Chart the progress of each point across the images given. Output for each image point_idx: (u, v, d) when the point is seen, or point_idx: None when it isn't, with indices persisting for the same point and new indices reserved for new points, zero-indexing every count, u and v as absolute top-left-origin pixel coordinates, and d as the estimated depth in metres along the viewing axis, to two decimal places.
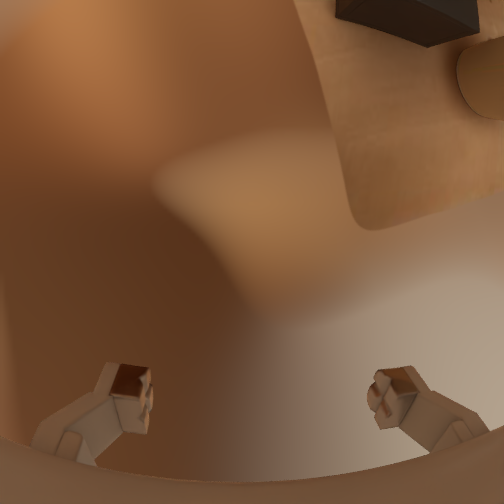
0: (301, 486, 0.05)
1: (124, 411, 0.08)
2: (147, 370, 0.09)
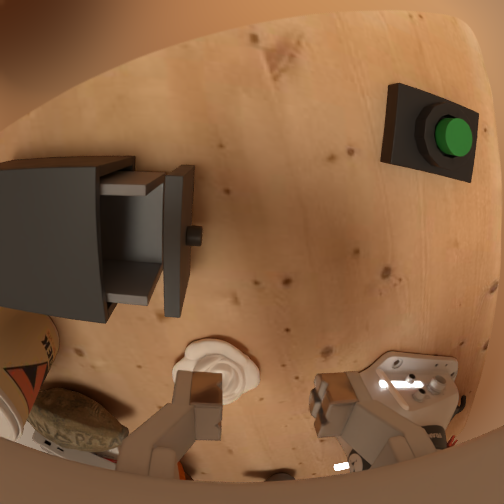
0: (302, 486, 0.05)
1: (202, 419, 0.08)
2: None
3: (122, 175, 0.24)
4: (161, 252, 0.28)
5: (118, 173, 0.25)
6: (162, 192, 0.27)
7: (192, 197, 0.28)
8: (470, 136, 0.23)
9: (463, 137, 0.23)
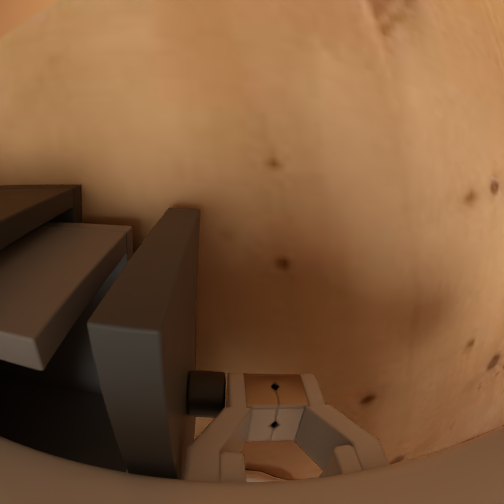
0: (301, 486, 0.05)
1: (257, 421, 0.09)
2: (272, 377, 0.10)
3: (23, 246, 0.08)
4: None
5: None
6: None
7: (196, 283, 0.12)
8: None
9: None
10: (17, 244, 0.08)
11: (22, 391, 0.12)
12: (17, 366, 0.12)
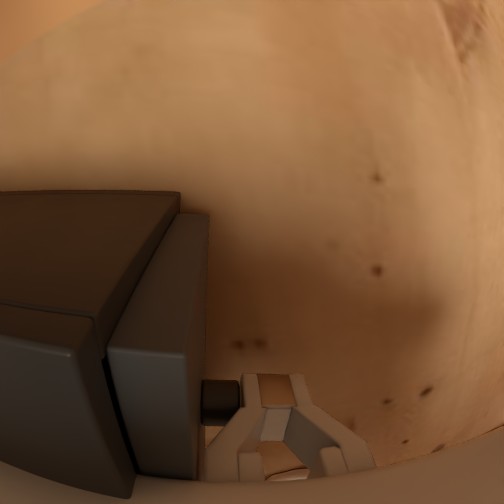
0: (301, 486, 0.05)
1: (272, 421, 0.09)
2: (286, 377, 0.10)
3: None
4: None
5: None
6: None
7: (206, 290, 0.12)
8: None
9: None
10: None
11: None
12: None
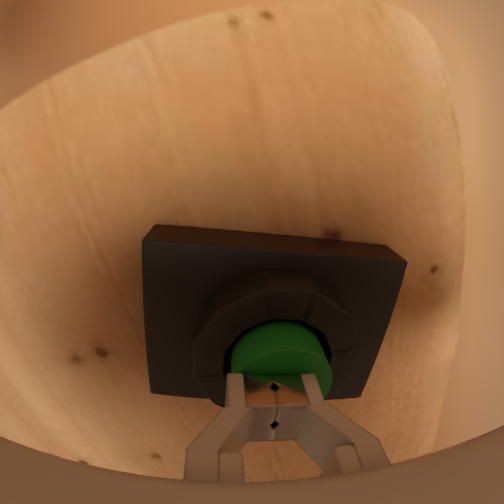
0: (302, 485, 0.05)
1: (257, 421, 0.09)
2: (272, 377, 0.10)
3: None
4: None
5: None
6: None
7: None
8: (325, 378, 0.11)
9: None
10: None
11: None
12: None
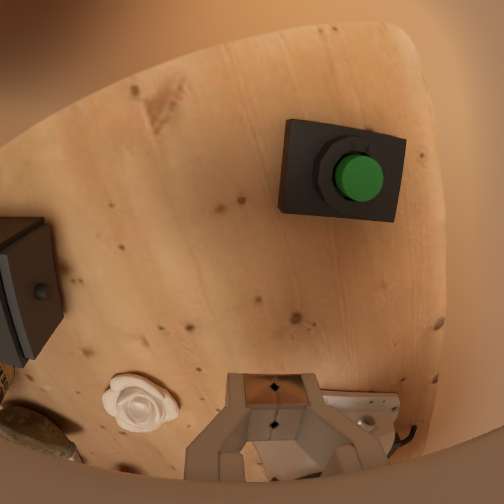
0: (302, 485, 0.05)
1: (257, 421, 0.09)
2: (272, 377, 0.10)
3: None
4: None
5: None
6: None
7: (50, 253, 0.27)
8: (380, 175, 0.23)
9: (369, 178, 0.23)
10: None
11: None
12: None
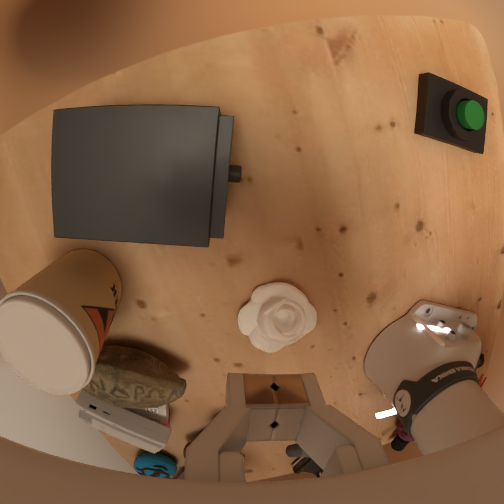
0: (302, 485, 0.05)
1: (257, 421, 0.09)
2: (272, 377, 0.10)
3: None
4: None
5: None
6: None
7: None
8: (482, 114, 0.28)
9: (477, 115, 0.28)
10: None
11: None
12: None
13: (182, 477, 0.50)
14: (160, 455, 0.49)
